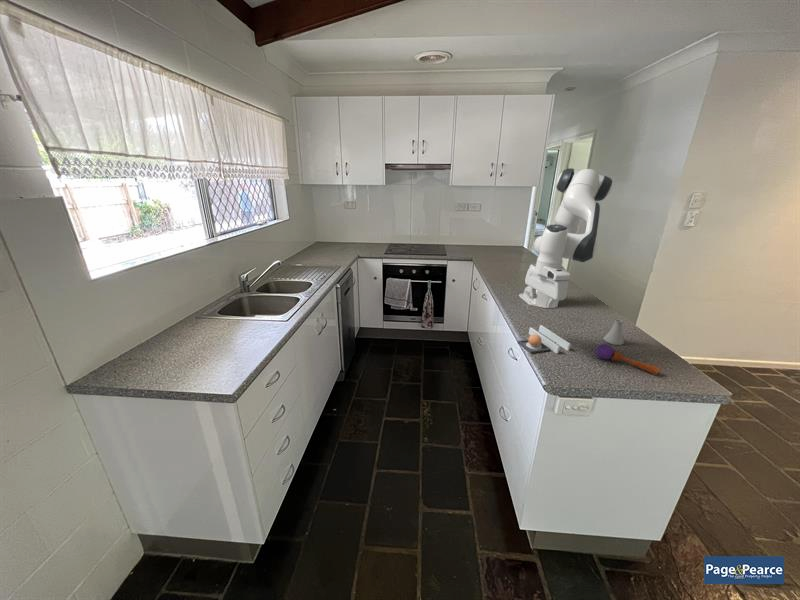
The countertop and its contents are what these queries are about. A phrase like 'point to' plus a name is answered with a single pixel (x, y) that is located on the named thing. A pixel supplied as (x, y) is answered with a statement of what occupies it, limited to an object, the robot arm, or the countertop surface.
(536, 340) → the ball
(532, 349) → the gray square tray
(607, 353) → the purple and orange maraca
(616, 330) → the flask
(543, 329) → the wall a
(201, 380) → the countertop surface
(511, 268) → the countertop surface
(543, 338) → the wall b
